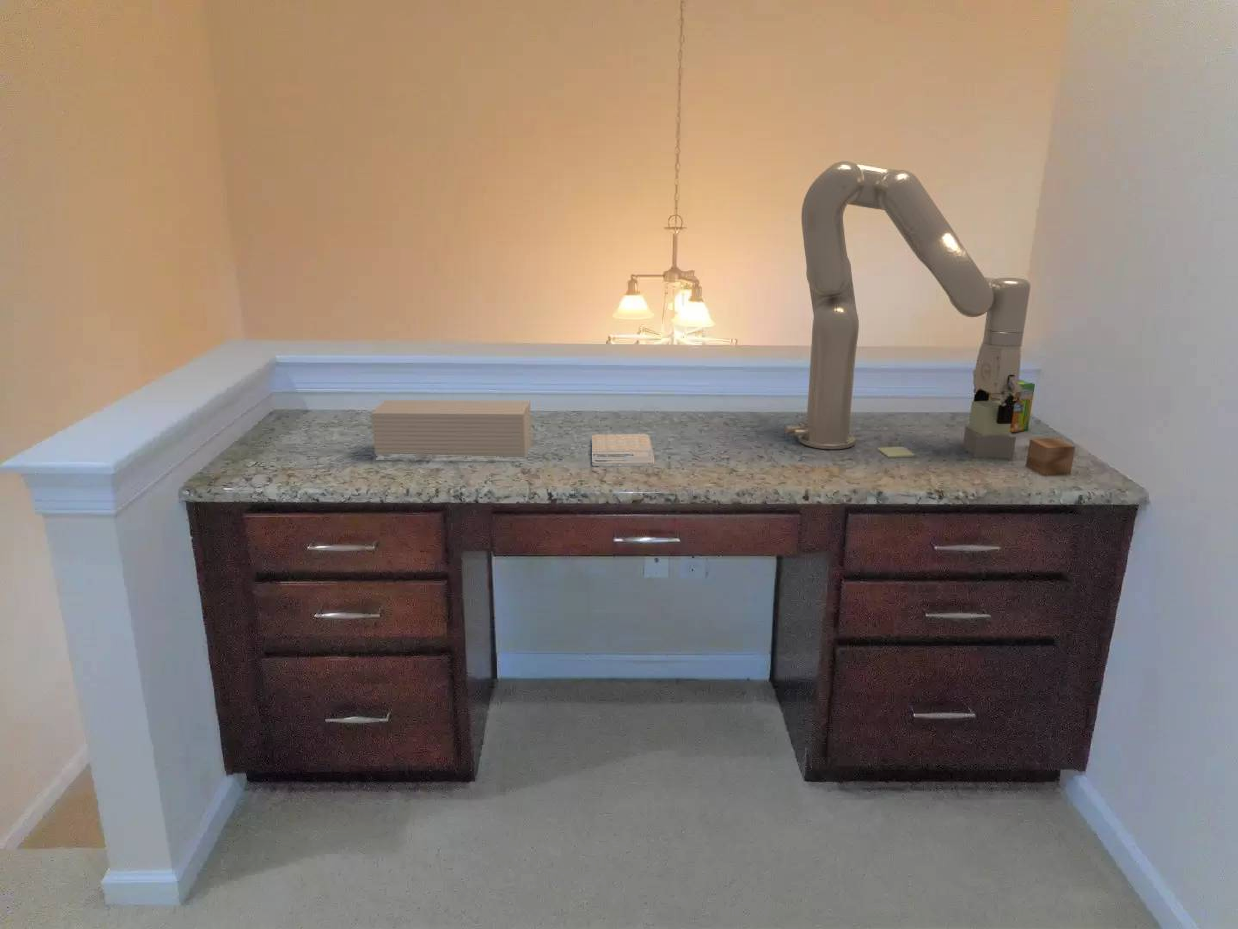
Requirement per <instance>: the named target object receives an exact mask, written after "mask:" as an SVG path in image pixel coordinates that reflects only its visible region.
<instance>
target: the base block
mask: <svg viewBox="0 0 1238 929" xmlns="http://www.w3.org/2000/svg"><path fill="white" fill-rule="evenodd" d="M968 427H969V425H965V428H964V435H963V443H962V447H963V448H964V449H965V450H966V451H967V452H968V454H970V455H971V456H972V457H973V458H975V459H976V458H977V459H978V458H979V459H1013V458H1014V453H1015V444H1016V439H1017V436H1016V435H1014V434H1013V433H1010V432H1009V435H991V436H982V435H980V434H979V433H977V432H975V431H973V430H971V429H969V428H968Z"/></svg>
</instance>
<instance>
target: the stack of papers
mask: <svg viewBox="0 0 1238 929" xmlns="http://www.w3.org/2000/svg"><path fill="white" fill-rule="evenodd" d="M371 422H372V423H371V425H372V426H371V427H372V435H373V436H372V437H373V444H374V445H373V447H374V455H375V454H417V455H418V454H419V455H420V454H421V455H469V456H470V455H472V456H496V457H497V456H499V457H501V456H502V457H525V456H526V454H527V452H528V449H529V448H530V445H531V444H532V443H531V442H533V441H532V425H531V424H532V423H531V422H532V420H531V401H529V400H412V399H411V400H407V399H406V400H402V399H401V400H398V399H397V400H393V399H392V400H389V399H388V400H387V399H386V400H384V401H383V402H382V403H381V404H380V405H379V406H378V407H377V408H376V409H374V410H373V411H372V412H371Z"/></svg>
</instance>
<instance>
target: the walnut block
mask: <svg viewBox="0 0 1238 929" xmlns="http://www.w3.org/2000/svg"><path fill="white" fill-rule="evenodd" d="M1027 451H1028V452H1027V456H1026V462H1025V463H1026V464H1025V467H1026V466H1027V467H1026V468H1028V467H1029V468H1028V469H1030V470H1031V469H1032V470H1031V471H1033V472H1035V473H1037V472H1038V473H1039V475H1040V474H1041V475H1040V476H1042V477H1046V476H1047V475H1051V476H1065V475H1064V474H1070V475H1071V472H1072V469H1073V468H1072V467H1073V462H1074V456H1075V451H1076V446H1075V445H1073V444H1070V443H1069V442H1066V441H1064V440H1063V439H1061V438H1058V437H1051V438H1049V437H1048V438H1030V439H1029V444H1028V450H1027ZM1038 473H1037V474H1038ZM1047 477H1048V476H1047Z"/></svg>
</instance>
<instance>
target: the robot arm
mask: <svg viewBox="0 0 1238 929" xmlns="http://www.w3.org/2000/svg"><path fill="white" fill-rule="evenodd" d="M848 205H851V206H857V207H861V208H867V209H874V210H881V211H885V213H886V215H887V216H888V218H889V219H890V220H891V222H892V223H893V224H894V226H895V228H896V229H897V230H898V232H899V233H900V235H901V236H902V238H903V239H904V241H905V242H906V244H907V245H908V246H909V248H910V249H911V251H912V252H913V253H914V255H915V256H916V257H917V259H918V260H919V261H920V263H921V264H923V265H924V266H925V267H926V268H927V269H928V270H929V271H930V273H931V274H932V275H933V277H934V278H935V280H936V281H937V282H938V284H939V285H940V287H941V288H942V289H943V290H944V292H945V294H946V295H947V296H948V299H949V301H950V304H951V305H952V306H953V307H954V308H955V309H956V311H957V312H958V313H960V315H962V316H965V317H968V318H976V317H977V318H978V317H982V316H983V315H984V314H986V317H985V324H984V330H983V331H984V332H983V338H982V339H983V340H982V342H981V344H980V347H979V351H978V355H977V358H976V363H975V368H974V370H973V371H972V376H973V382H972V383H973V386H974V388H973V393H974V395H973V397H974V398H973V401H989V393H990V394H992V395H999V398H1000V402H1001V405H999V407H998V414H997V421H996V423H997V424H1011V423H1012V418H1013V412H1014V406H1016V404H1017V403H1016V402H1017V401H1018V400H1019V397H1020V395H1021V393H1022V388H1021V386H1020V385H1019V383H1018V381H1019V380H1020V373H1021V370H1020V369H1021V348H1022V346H1023V339H1024V332H1025V325H1026V319H1027V311H1028V306H1029V299H1030V293H1031V284H1030V282H1029V280H1027V279H1023V278H1019V277H999V278H992V277H985V276H984V275H983V272H981V270H980V268H979V267H978V266H977V265H976V263H975V261H974V260H973V259H972V257H971V256H970V254H969V253H968V251H967V250H966V248H965V247H964V245H963V244H962V242H961V241H960V239H959V237H958V236H957V234H956V232H955V230H954V229H953V228H952V226H951V225H950V223H949V221H948V220H947V219H946V218H945V216H944V215H943V213H942V212H941V210H940V209H939V207H938V206H937V205H936V203H935V202H934V200H933V199H932V197H931V196H930V194H929V193H928V191H927V190H926V188H925V187H924V186H923V184H922V183H921V182H920V180H919V178H918V177H917V176H916V175H915V174H914V173H913V172H911V171H909V170H904V169H892V168H891V169H890V168H883V167H877V166H872V165H871V166H870V165H865V164H859V163H854V162H851V161H847V160H845V161H844V160H842V161H838V162H835V163H834V164H831V165H830V166H828V168H827V169H825V170H824V171H823V172H822V173H820V174H819V175H818V177H816V179H815V180H813V182H812V183H811V185H810V186H809V187H808V190H807V192H806V194H805V196H804V199H803V203H802V207H801V213H800V214H801V218H800V219H801V230H802V238H803V239H802V240H803V248H804V256H805V264H806V265H805V266H806V275H805V276H806V279H807V282H808V287H809V294H810V300H811V308H812V314H813V321H812V330H811V347H810V348H811V349H810V360H809V361H810V363H809V379H808V382H809V383H808V394H807V411H806V419H802V420H801V421H802V422H801V423H799V424H798V425H796V424H795V425H794V424H789V425H788V424H786V425H784V433H785V434H787V435H788V434H789V435H790V434H793V435H794V436H798V437H797V438H798V442H799V443H801V444H802V445H805V446H807V447H811V448H815V449H820V450H821V449H822V450H843V449H847V448H850V447H853V446H855V444H856V437H855V436H854V435H853V434H852V433H850V425H851V423H850V422H851V413H852V403H853V402H852V399H853V388H854V377H855V376H854V375H855V365H856V364H855V363H856V354H857V347H858V346H857V345H858V338H859V330H860V329H859V328H860V327H859V324H860V322H859V321H860V320H859V316H858V313H857V312H858V311H857V304H856V298H855V290H854V283H853V282H854V281H853V274H852V266H851V261H850V258H849V256H848V253H847V245H846V244H847V243H846V238H845V237H846V236H845V226H844V212H845V209H846V207H847V206H848ZM987 392H988V393H987ZM1005 396H1009V397H1008V398H1007V399H1005Z"/></svg>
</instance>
